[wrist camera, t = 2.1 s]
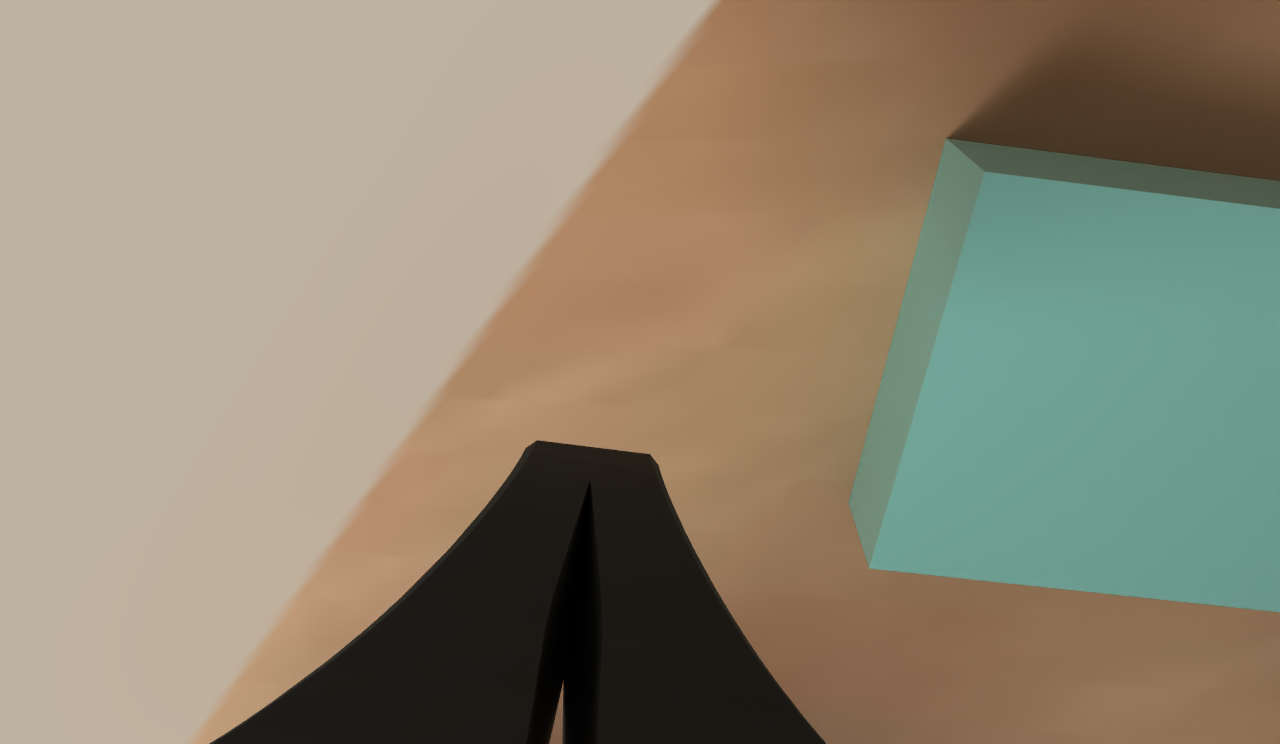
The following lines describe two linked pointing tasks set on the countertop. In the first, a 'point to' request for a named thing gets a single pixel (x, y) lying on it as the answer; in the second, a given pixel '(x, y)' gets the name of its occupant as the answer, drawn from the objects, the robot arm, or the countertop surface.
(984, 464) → the tile
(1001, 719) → the countertop surface
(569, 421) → the countertop surface
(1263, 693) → the countertop surface
